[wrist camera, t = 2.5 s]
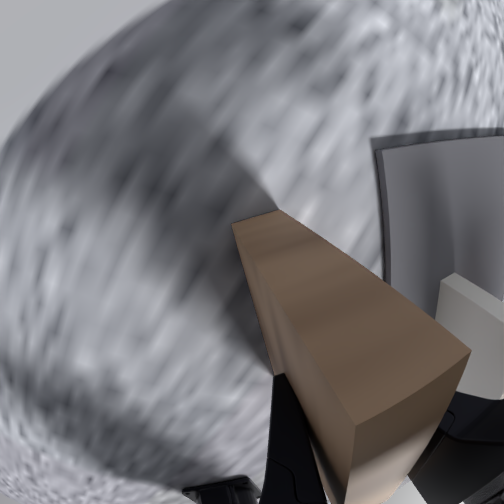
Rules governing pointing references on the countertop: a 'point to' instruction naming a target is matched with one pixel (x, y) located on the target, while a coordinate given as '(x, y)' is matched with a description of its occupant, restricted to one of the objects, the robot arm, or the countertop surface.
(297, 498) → the robot arm
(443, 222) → the mat
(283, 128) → the countertop surface
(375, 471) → the flat wooden plank
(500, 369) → the tile
